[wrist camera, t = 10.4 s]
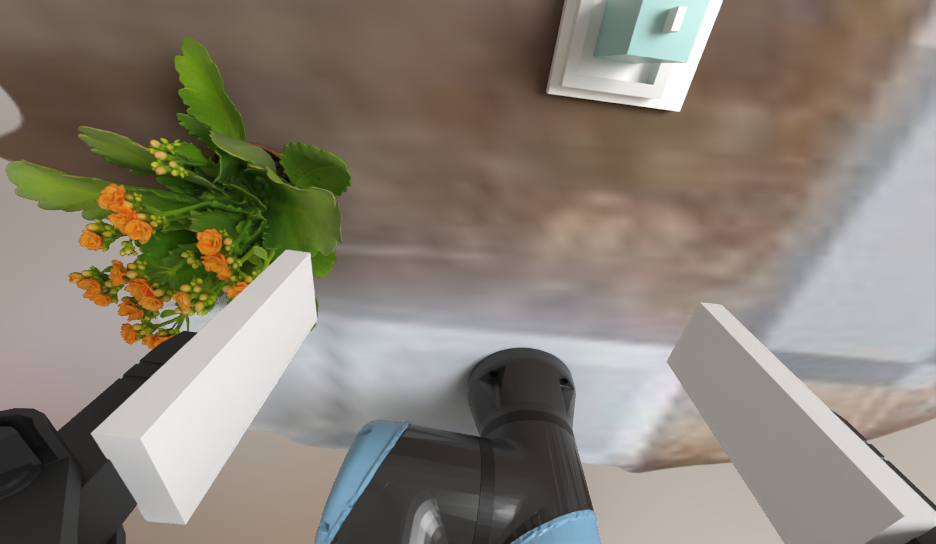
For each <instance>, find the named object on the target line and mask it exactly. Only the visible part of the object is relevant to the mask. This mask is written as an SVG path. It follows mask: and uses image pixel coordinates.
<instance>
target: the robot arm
mask: <svg viewBox="0 0 936 544" xmlns="http://www.w3.org/2000/svg"><path fill="white" fill-rule="evenodd" d="M316 321H317V313H316V303H315V294H314V284H313V274H312V264H311V254H310V253H309V252H301V251H293V250H285V251H284V252H283V253H282V254H281V255H280V256H279V257H278V258H277V259H276V260H275V261H274V262H273V263H272V264H270V265H269V266H268V267H267V268H266V269H265V270H264V271H263V272H262V273H261V274H260V275H259V276H258V277H257V278H256V279H255V280H253V281H252V282H251V283H250V284H249V285H248V286H247V287H246V288H245V289H244V290H243V291H242V292H241V293H240V294H239V295H237V296H236V297H235V298H234V299H233V300H232V301H231V302H230V303H229V304H228V305H227V306H226V307H225V308H224V309H223V310H222V311H220V312H219V313H218V314H217V315H216V316H215V317H214V318H213V319H212V320H211V321H210V322H209V323H208V324H207V325H206V326H204V327H203V328H202V329H201V330H200V331H199V332H198V333H197V332H188V331H183V332H181V333H179V334H177V335H175V336H173V337H171V338H170V339H168V340H166V341H164V342H162V343H160V344H158V345H157V346H156V347H155V348H154V349H153V350H151V351H150V352H149V353H148V354H147V355H146V356H145V357H144V358H142V359H141V360H140V363H139V364H135V365H134V366H133V367H132V368H131V369H129V370H128V371H127V372H126V373H125V374H124V375H123V378H122V379H120V378H119V379H118V380H117V381H115V382H114V383H113V384H112V385H111V386H110V387H108V388H107V389H106V390H105V391H104V392H103V393H102V394H100V395H99V396H98V397H97V398H96V399H95V400H93V401H92V402H91V403H90V404H89V405H88V406H86V407H85V408H84V409H83V410H82V411H81V412H79V413H78V414H77V415H76V416H75V417H74V418H72V419H71V420H70V421H69V422H68V423H67V424H66V425H64V426H63V427H62V428H61V429H60V430H59V431H56V429H55V428H54V427H53V425H52V424H51V422H50V421H49V419H48V418H47V417H46V415H45V414H44V413H42V412H39V411H37V410H35V409H26V408H14V409H9V410H4V411H0V544H126V543H125V542H126V541H125V540H126V534H125V531H124V528H123V525H122V523H123V522H124V521H125V520H126V518H127V517H128V516H129V514H130V513H131V512H132V511H133V509H134V508H135V507H136V506H137V507H138V509H139V511H140V512H141V513H142V515H143V517H144V518H145V520H146V521H151V522H162V523H173V524H184V525H186V524H187V522H188V520H189V519H190V517H191V516H192V514H193V513H194V511H195V509H196V508H197V506H198V505H199V503H200V502H201V500H202V499H203V497H204V495H205V494H206V492H207V491H208V489H209V488H210V486H211V484H212V483H213V481H214V480H215V478H216V477H217V475H218V474H219V472H220V470H221V469H222V467H223V466H224V464H225V463H226V461H227V460H228V458H229V456H230V455H231V453H232V452H233V450H234V449H235V447H236V446H237V444H238V442H239V441H240V439H241V437H242V436H243V435H244V433H245V432H246V430H247V429H248V427H249V425H250V424H251V422H252V421H253V419H254V418H255V416H256V414H257V413H258V411H259V410H260V408H261V407H262V405H263V404H264V402H265V400H266V399H267V397H268V396H269V394H270V393H271V391H272V390H273V388H274V386H275V385H276V383H277V382H278V380H279V379H280V377H281V376H282V374H283V372H284V371H285V369H286V368H287V366H288V365H289V363H290V362H291V360H292V358H293V357H294V355H295V354H296V352H297V351H298V349H299V348H300V346H301V344H302V343H303V341H304V340H305V338H306V337H307V335H308V334H309V332H310V330H311V329H312V327H313V326H314V324H315V323H316ZM667 363H668V364H669V366H670V367H671V369H672V370H673V372H674V373H675V375H676V376H677V378H678V380H679V381H680V383H681V384H682V386H683V387H684V389H685V390H686V392H687V393H688V395H689V397H690V398H691V400H692V401H693V403H694V404H695V406H696V407H697V409H698V410H699V412H700V414H701V415H702V417H703V418H704V420H705V421H706V423H707V424H708V426H709V427H710V429H711V431H712V432H713V434H714V435H715V437H716V438H717V440H718V441H719V443H720V444H721V446H722V448H723V449H724V451H725V452H726V454H727V455H728V457H729V458H730V460H731V461H732V463H733V465H734V466H735V468H736V469H737V471H738V472H739V474H740V475H741V477H742V478H743V480H744V481H745V483H746V484H747V486H748V488H749V489H750V491H751V492H752V494H753V495H754V497H755V498H756V500H757V502H758V503H759V505H760V506H761V508H762V509H763V511H764V512H765V514H766V516H767V517H768V519H769V520H770V522H771V523H772V525H773V526H774V528H775V529H776V531H777V533H778V534H779V536H780V537H781V538H782V540H783V542H784V543H785V544H936V505H935V504H934V503H933V502H932V501H931V500H929V499H928V498H927V497H926V496H925V495H924V494H923V493H922V492H921V491H920V490H919V489H918V488H917V487H916V486H915V485H914V484H913V483H911V481H909V480H908V479H907V478H906V477H905V476H904V475H903V474H902V473H901V472H900V471H899V470H898V469H897V468H896V467H895V466H894V465H892V463H891V462H889V461H886V460H885V459H884V456H883V455H882V454H881V453H880V452H879V451H878V450H877V449H876V448H875V447H874V446H873V445H872V444H868V443H867V440H866V439H865V438H864V437H863V436H862V435H861V434H860V433H859V432H858V431H857V430H856V429H855V428H854V427H853V426H852V425H851V424H850V423H849V422H848V421H846V420H845V419H843V418H842V417H841V416H839V415H838V414H836V413H835V412H834V411H832V410H831V409H829V408H828V407H827V406H826V405H825V404H824V403H823V402H822V401H821V400H820V399H819V398H818V397H817V396H816V395H814V394H813V393H812V392H811V391H810V390H809V389H808V388H807V387H806V386H805V385H804V384H803V383H802V382H801V381H800V380H799V379H798V378H797V377H796V376H795V375H794V374H793V373H792V372H791V371H790V370H789V369H788V368H787V367H785V366H784V365H783V364H782V363H781V362H780V361H779V360H778V359H777V358H776V357H775V356H774V355H773V354H772V353H771V352H770V351H769V350H768V349H767V348H766V347H765V346H764V345H763V344H762V343H761V342H760V341H759V340H757V339H756V338H755V337H754V336H753V335H752V334H751V333H750V332H749V331H748V330H747V329H746V328H745V327H744V326H743V325H742V324H741V323H740V322H739V321H738V320H737V319H736V318H735V317H734V316H733V315H732V314H731V313H730V312H728V311H727V310H726V309H725V308H724V307H723V306H722V305H719V304H711V303H703V302H700V303H699V305H698V307H697V308H696V310H695V312H694V314H693V316H692V317H691V319H690V321H689V323H688V325H687V326H686V328H685V330H684V332H683V333H682V335H681V337H680V339H679V341H678V342H677V344H676V346H675V348H674V349H673V351H672V353H671V355H670V357H669V358H668V360H667ZM575 397H576V393H575V386H574V383H573V379H572V376H571V373H570V371H569V369H568V368H567V366H566V365H565V364H564V363H563V362H562V361H561V360H560V359H558V358H557V357H555V356H553V355H551V354H549V353H547V352H544V351H540V350H536V349H528V348H517V349H509V350H504V351H501V352H498V353H495V354H493V355H491V356H489V357H487V358H486V359H484V360H483V361H481V362H480V363H479V364H478V365H477V366H476V367H475V368H474V370H473V371H472V373H471V375H470V378H469V381H468V403H469V407H470V410H471V412H472V415H473V418H474V421H475V424H476V426H477V429H478V432H479V435H480V437H477V436H473V435H467V434H461V433H455V432H449V431H443V430H437V429H432V428H427V427H421V426H416V425H410V424H411V422H405V423H399V422H390V421H382V420H376V421H372V422H370V423H368V424H366V425H365V426H364V427H363V428H362V429H361V430H360V432H359V433H358V435H357V436H356V438H355V439H354V441H353V443H352V445H351V447H350V449H349V451H348V453H347V455H346V457H345V459H344V462H343V464H342V466H341V468H340V471H339V473H338V475H337V477H336V480H335V482H334V485H333V487H332V490H331V492H330V494H329V497H328V500H327V502H326V505H325V508H324V511H323V514H322V519H321V521H320V525H319V527H318V529H317V533H316V537H315V544H601V543H600V537H599V532H598V526H597V516H596V513H595V512H594V510H593V506H592V502H591V499H590V495H589V491H588V487H587V484H586V480H585V476H584V473H583V469H582V465H581V461H580V457H579V454H578V450H577V446H576V442H575V439H574V435H573V430H572V426H573V417H574V407H575Z"/></svg>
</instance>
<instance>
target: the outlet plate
mask: <svg viewBox="0 0 936 544" xmlns="http://www.w3.org/2000/svg"><path fill="white" fill-rule="evenodd" d="M722 1H723V0H710V3H709V5H708V8H707V11H706V13H705V16H704V19H703V21H702V24H701V27H700V29H699V32H698V35H697V37H696V40H695V43H694V45H693V48H692V51H691V53H690V56H689V59H688V61H687V63H632V62H625V61H618V60H611V59H604V58H597V57H593V53H594V49H595V45H596V42H597V38H598V34H599V30H600V26H601V22H602V18H603V14H604V10H605V6H606V2H607V0H565V2H564V6H563V11H562V16H561V21H560V26H559V31H558V36H557V40H556V45H555V50H554V55H553V60H552V65H551V69H550V74H549V79H548V84H547V89H546V93H548V94H554V95H562V96H569V97H576V98H583V99H591V100H598V101H605V102H613V103H620V104H627V105H635V106H642V107H649V108H657V109H664V110H671V111H679V112H680V109H681V107H682V104H683V102H684V99H685V96H686V94H687V91H688V89H689V86H690V84H691V81H692V78H693V76H694V73H695V71H696V68H697V66H698V63H699V60H700V58H701V55H702V53H703V50H704V48H705V45H706V42H707V40H708V37H709V35H710V32H711V30H712V27H713V24H714V22H715V19H716V17H717V14H718V11H719V9H720V6H721V4H722Z"/></svg>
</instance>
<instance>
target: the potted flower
mask: <svg viewBox="0 0 936 544" xmlns="http://www.w3.org/2000/svg"><path fill="white" fill-rule="evenodd" d="M181 50H182V52H183V54H184V56H175V70H176V71H177V72H178V73H179V74H180V78H179V80H180V82H181V83H182V84H184V86H185V88H183V89H180V90H179V91H178V94H179V96H180V97H181V98H182V99H183V103H184V104H185V105H188V106H190V108H188V109H187V110H186V111H187V113H188V114H190V115H192V116H195V117H196V118H195V117H191V116H190V115H187V114H182V113H177V117H178V120H180V121H182V122H181V123H179V125H180V126H183V127H185V129H186V130H190V132H189V133H188V134H189V135H195V136H197V137H200V138H197V140H200V141H202V142H204V144H206V145H208V146H209V147H208V146H207V148H208V149H210V150H211V151H213V152H214V153H213V155H212V156H211V157H210V158H209V159H207V158H205V157H204V156H203V155H202V154H201V150H198V149H197V147H196V146H194V145H193V144H192V143H190V144H188V143H187V142H183V143H179V141H180V140H175V141H174V142H173V143H171V144H170V143H169V142H168V140H166V139H164V138H161V139H160V140H161V142H162V143H160V142H158V141H157V140H151V141H150V145H151V146H149V147H150V148H146V147H144V146H142V145H140V144H138V143H136V142H134V141H132V140H131V139H129V138H128V137H125V136H122V135H119V134H116V133H113V132H110V131H106V130H100V129H97V128H92V127H87V126H80V127H79V129H78V130H79V131H80V132H82V133H84V134H79V135H78V137H79V138H80V139H81V140H83V141H84V142H86V144H87V145H88V146H90V147H93V149H91V152H93V153H95V154H97V155H100V156H102V157H105V158H106V159H105V160H106V161H108V162H110V163H114V164H117V165H118V166H121V167H125V168H130V169H131V170H129V172H130V173H131V174H134V175H157V176H158V177H156V178H155V179H156V181H157V182H158V183H159V184H164V186H165V187H167V188H169V189H171V190H172V191H167V190H162V189H154V188H148V187H147V188H145V187H136V186H129V185H123V184H119V183H114V182H111V181H108V180H104V179H101V178H94V177H85V176H75V175H70V174H67V173H65V172H62V171H59V170H56V169H53V168H50V167H46V166H41V165H38V164H35V163H31V162H29V161H27V160H24V159H22V161H14V162H11V163H9V164H8V165H7V166H6V172H7V176H8V178H9V180H10V181H11V182H12V183H14V184H15V185H17V186H18V188H16V190H15V193H16V194H17V195H18V196H21V197H23V198H27V199H31V200H35V201H39V203H38V207H40V208H42V209H46V210H63V211H66V212H73V211H80V210H84V211H83V212H82V217H83V218H84V219H87V220H95V222H96V223H91V224H88V225H86V229H87V230H88V231H87V230H83V231H82V232H83V234H82V235H81V237H80V239H79V243H80V245H81V246H83V247H87V248H88V249H89V250H95V251H97V250H99V249H103V252H104V251H107V250H108V249H109V245H110V243H112V242H114V241H115V240H116V239H118V238H119V237H122V236H129V237H130V240H129V241H123V242H122V245H124V246H125V247H124V248H123V249H122V250H121V251H120V255H121V256H124V255H126V254H128V255H130V254H133V255H138V254H137V253H136V251H135V250H134V249H135V247H133V245H132V240H135V245H136V246H137V247H140V251H141V252H142V253H143V254H141V255H139V256H138V257H137V259H136V260H135V261H134V263H129V264H127V268H124V267H123V263H122V262H120V261H117V260H113V261H112V263H113V266H109V267H107V268H106V269H104V270H103V271H102V272H100V271H99V270H98V269H97V268H95V267H94V266H92V267H90V268H91V270H84V271H82V272H81V273H77V272H74V273H71V274H70V275H69V278H70V279H69V281H70V282H72V283H77V286H78V287H79V288H81V289H84V290H87V291H86V292H85V293H84V294H83V297H84V298H89V299H90V300H93V301H94V303H95V304H97V305H100V306H107V305H109V304H110V303H113V302H115V303H116V304H117V303H118V299H117V292H118V291H119V290H120V289H122V287H124V284H130V285H128V286H126V287H125V288H124V290H126V291H128V292H130V293H131V296H133V297H128V296H127V297H123V298H122V299H121V301H122V302H123V303H122V304H119V305H118V306H119V307H120V309H119V310H118V315H120V316H125V315H129V318H128V321H131V320H136V319H138V320H140V319H141V322H143V323H142V324H134V325H133V326H131V325H130V324H122V327H121V330H122V331H121V335H122V337H123V338H124V340H125V341H126V342H127V343H129V344H132V343H134V342H137V341H138V340H140V339H143V340H142V341H145V342H142V344H144V345H147V346H148V348H150V349H152V350H153V349H154V348H155V347H156V346H157V345H158V344H160V343H162V342H164V341H166V340H168V339H170V338H171V337H173V336H175V335H177V334H179V333H180V332H179V329H180V327H181V325H182V323H183V321H184V319H185V317H186V321H187V331H188V332H189V317H188V315H190V316H192V315H193V314H194V313H195V312H197V315H205V314H207V312H208V311H209V312H210V310H212V309H213V307H214V306H215V304H216V301H217V295H218V297H220V296H222V295H223V293H224V292H225V293H228V294H227V295H226V298H227V299H229V301H228V303H227V305H228V304H229V303H230V302H231V301H232V300H233V299H234V298H235V297H236V296H237V295H239V294H240V293H241V292H242V291H243V290H244V289H245V288H246V287H247V286H248V285H249V284H250V283H251V282H252V281H253V280H255V279H256V278H257V277H258V276H259V275H260V274H261V273H262V272H263V271H264V270H265V269H266V268H267V267H268V266H269V265H270V264H272V263H273V262H274V261H275V260H276V259H277V258H278V257H279V256H280V255H281V254H282V253H283V252H284V251H285V250H293V251H301V252H309V253H310V254H311V264H312V274H313V276H314V277H318V278H325V277H326V276H327V274H328V273H329V272H331V270H332V268H333V263H334V262H335V261H336V256H335V254H334V253H333V252H334V250H335V248H336V247H337V242H338V241H340V242H342V239H341V238H342V233H341V223H342V213H341V209H340V206H339V203H338V202H337V204H336V201H335V200H336V195H338V196H340V195H342V194H343V192H346V191H347V190H348V186H351V175H350V173H349V171H348V170H347V166H346V164H345V162H344V161H343V160H341V159H340V158H339V157H337V156H335V155H333V154H332V153H331V152H329V151H326V150H323V149H322V150H319V149H318V148H317V147H316V146H313V145H309V146H306V145H305V144H304V143H302V142H298V143H297V144H296V143H294V142H291V143H290V146H288V145H284V148H285V149H283V152H284V154H281V153H280V154H279V153H278V152H276V151H274V150H272V149H270V148H267V147H265V146H263V145H260V144H256V143H247V142H245V138H246V133H245V129H244V124H243V119H242V116H241V114H240V112H239V111H237V109H236V107H235V105H234V104H233V103H232V102H231V100H230V99H229V97H228V96H227V95H226V94H225V91H224V84H223V80H222V77H221V75H220V72H219V70H218V68H217V66H216V64H215V62H213V61H212V60H211V58H210V56H209V54H208V52H207V51H206V49H205V48H204V46H202V45H200V44H199V43H198V42H197V41H195V40H194V39H191V38H190V37H187V38H185V39H184V40H183V41H182V48H181ZM205 124H206V125H208V126H210V127H211V128H210V127H207V126H206V125H205ZM104 218H106V219H108V220H110V221H111V223H113V226H112V225H109V224H107V223H104V222H102V221H101V220H102V219H104ZM121 232H122V233H121ZM101 233H102V234H101ZM104 272H111V274H110V275H107V274H104ZM109 280H111V281H109ZM314 294H315V292H314ZM171 297H173V299H174V300H176V304H175V305H176V306H179V307H177V308H176V309H175V310H165V311H163V312H162V313H161V315H160V317H161V318H164V317H167V316H171V315H174V314H181V315H180V316H178V317H176V318H174V319H172V320H169V321H166V322H164V323H161V324H152V323H151V322H150V320H151V319H153V318H155V319H156V316H158V315H159V314H160V313H159V311H158V310H159V309H160V308H161V309H162V307H163V302H164V301H165V302H169V301H170V299H171ZM315 303H316V313H317V318H318V301H317V299H316V297H315ZM136 304H137V305H136ZM145 316H146V317H145ZM175 321H177V322H176V323H175V324H174V325H173V327H172V328H170V329H166V330H165V329H163V328H159V327H161V326H164V325H167V324H170V323H172V322H175ZM177 323H178V325H177V327H176V328H175V329H173V328H174V327H175V325H176V324H177ZM315 326H316V323H315V324H314V326H313V327H312V329H311V330H310V331H312V330H313V328H314V327H315ZM156 329H158V330H159V332H157V333H156V334H155V335H153V334H152V332H154V331H155V330H156Z"/></svg>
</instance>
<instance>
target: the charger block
mask: <svg viewBox="0 0 936 544" xmlns="http://www.w3.org/2000/svg"><path fill="white" fill-rule="evenodd" d="M709 3H710V0H607V2H606V6H605V10H604V14H603V18H602V22H601V26H600V30H599V34H598V38H597V42H596V45H595V49H594V53H593V57H597V58H604V59H611V60H618V61H625V62H632V63H687V61H688V59H689V56H690V53H691V51H692V48H693V45H694V43H695V40H696V37H697V35H698V32H699V29H700V27H701V24H702V21H703V19H704V16H705V13H706V11H707V8H708V5H709Z"/></svg>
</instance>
